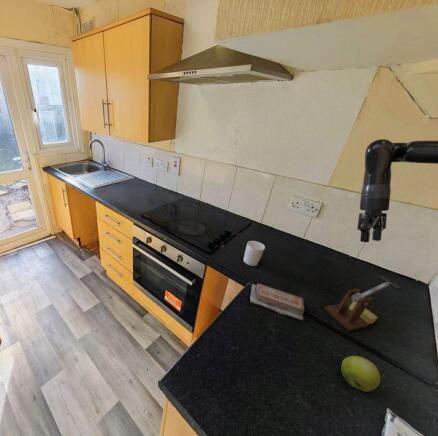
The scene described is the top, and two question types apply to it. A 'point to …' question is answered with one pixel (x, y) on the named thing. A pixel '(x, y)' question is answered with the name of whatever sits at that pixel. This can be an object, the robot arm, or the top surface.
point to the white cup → (253, 252)
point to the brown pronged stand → (349, 311)
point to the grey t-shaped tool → (375, 289)
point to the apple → (360, 373)
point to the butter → (365, 314)
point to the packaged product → (277, 301)
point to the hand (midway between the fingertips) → (370, 241)
